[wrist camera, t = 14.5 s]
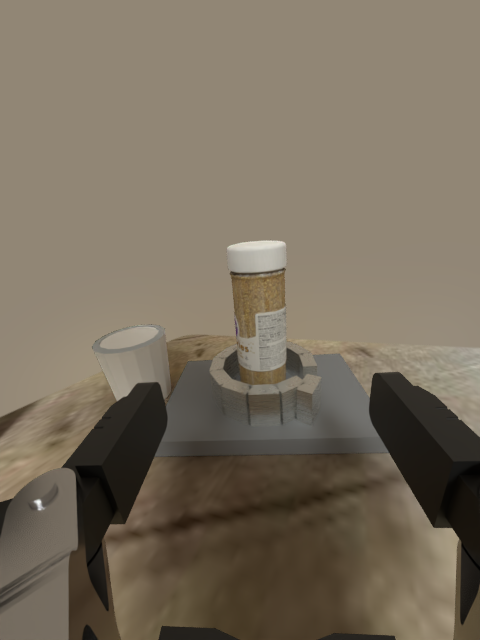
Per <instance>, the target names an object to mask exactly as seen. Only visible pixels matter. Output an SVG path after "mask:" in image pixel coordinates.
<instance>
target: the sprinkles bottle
mask: <svg viewBox="0 0 480 640" xmlns="http://www.w3.org/2000/svg"><path fill="white" fill-rule="evenodd" d="M227 263H228V270H230V271H231V272H230V275H231V278H232V286H233V299H234V309H235V312H234V317H235V327H236V339H237V353H238V361H239V366H240V379H241V382H243V383H246V384H250V385H263V384H277V383H279V382H281V381H284V380H286V304H285V279H284V278H285V277H284V273H285V270H286V269H285V268H284V267H286V265H287V256H286V244H285V243H284V242H282V241H253V242H244V243H238V244H234V245H230V246H228V248H227Z"/></svg>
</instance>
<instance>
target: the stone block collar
mask: <svg viewBox="0 0 480 640" xmlns="http://www.w3.org/2000/svg"><path fill="white" fill-rule="evenodd" d="M209 372H210V378H211V385H212V391H213V398H214V401H215V402H216V404H217V406H218V407H219V409H220V410H221V412H222V413H223V415H225V416H226V417H228V418H231V419H233V420H235V421H238V422H240V423H243V424H245V425H247V426H249V425H250V423H251V426H281V423H282V424H283V425H284V424H286V423H288V422H290V421H292V420H295V419H297V421H299V422H301V423H304V424H307V425H310V426H312V425H313V423H314V421H315V419H316V416H317V414H318V412H319V410H320V408H321V383H322V377H319V376H317V364H316V362H315V360H314V357H313V355H312V353H310V351H308V350H306V349H304V348H303V347H301V346H299V345H297V344H295V343H294V344H293V343H292V342H287V341H286V373H288V374H290V375H291V376H292V377H291V378H289V379H286V380H284V381H281V382H279V383H277V384H263V385H250V384H246V383H243V382H240V381H237V380H234V379H235V378H236V377H237V376H238V375H240V366H239V361H238V353H237V344H235V345H232V346H230V347H227V348H226V349H224V350H223V351H222V352H220V353H219V354H217V355H216V356H215V357H214V358H213V361H212V364H211V367H210V370H209Z"/></svg>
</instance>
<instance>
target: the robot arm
mask: <svg viewBox="0 0 480 640" xmlns="http://www.w3.org/2000/svg"><path fill="white" fill-rule="evenodd" d="M369 415H370V419H371V422H372V425H373V427H374V428H375V430H376V432H377V433H378V435H379V437H380V438H381V440H382V442H383V443H384V445H385V447H386V448H387V450H388V452H389V453H390V455H391V457H392V458H393V460H394V462H395V463H396V465H397V467H398V469H399V470H400V472H401V474H402V475H403V477H404V479H405V480H406V482H407V484H408V485H409V487H410V489H411V490H412V492H413V494H414V495H415V497H416V499H417V500H418V502H419V504H420V505H421V507H422V509H423V510H424V512H425V514H426V515H427V517H428V519H429V520H430V522H431V524H432V526H433V527H434V528H453V530H454V531H455V533H456V534H457V536H458V537H459V541H458V545H457V564H456V595H455V625H454V637H453V640H480V437H479V436H478V435H476V434H475V433H474V432H473V431H472V430H471V429H470V428H469V427H468V426H467V425H466V424H465V423H464V422H463V421H462V420H459V419H458V417H457V416H456V415H455V414H454V413H453V412H452V411H451V410H450V409H449V410H448V409H447V406H445V405H444V404H443V403H442V402H441V401H440V400H439V399H438V398H437V397H436V396H435V395H433V394H431V393H430V392H428V391H426V390H424V389H422V388H421V387H419V386H413V385H412V384H411V383H410V382H409V381H408V380H407V379H406V378H405V377H404V376H403V375H402V374H401V373H399V372H387V373H375V374H374V375H373V378H372V386H371V394H370V402H369ZM167 421H168V416H167V411H166V406H165V402H164V398H163V394H162V390H161V386H160V384H159V383H158V382H146V383H137V384H136V385H135V386H134V388H133V389H132V390H131V392H130V393H129V394H128V396H127V397H122V398H121V399H120V400H118V401H117V402H116V403H114V404H113V405H112V406H111V407H110V408H109V409H108V410H107V412H106V413H105V414H104V415H103V417H102V420H99V422H98V423H97V424H96V425H95V427H94V429H92V430H91V432H90V433H89V434H88V435H87V437H86V438H85V439H84V440H83V442H82V443H81V444H80V445H79V447H78V448H77V449H76V450H75V452H74V453H73V454H72V455H71V457H70V458H69V459H68V460H67V462H66V463H65V464H64V465H63V467H62V468H58V469H54V470H51V471H48V472H46V473H44V474H42V475H40V476H38V477H37V478H35V479H34V480H32V481H31V482H29V483H28V484H27V485H26V486H25V487H23V488H22V489H21V490H20V491H19V492H18V493H17V495H16V496H15V497H14V498H13V499H10V500H6V501H3V502H0V640H121V638H120V634H119V631H118V627H117V623H116V618H115V612H114V604H113V596H112V588H111V581H110V573H109V565H108V557H107V549H106V542H105V539H104V535H105V533H106V531H107V529H108V527H109V525H110V524H125V523H126V520H127V518H128V516H129V514H130V511H131V509H132V507H133V504H134V502H135V500H136V498H137V495H138V493H139V491H140V488H141V486H142V484H143V481H144V479H145V477H146V475H147V472H148V470H149V468H150V465H151V463H152V461H153V459H154V456H155V454H156V452H157V449H158V447H159V445H160V442H161V440H162V438H163V436H164V433H165V431H166V428H167ZM159 640H239V639H237V638H235V637H233V636H230V635H228V634H226V633H224V632H222V631H220V630H218V629H216V628H194V627H170V626H162V627H161V631H160V636H159ZM318 640H396V639H395V636H387V635H363V634H339V633H333V634H331V635H328V636H326V637H323V638H321V639H318Z"/></svg>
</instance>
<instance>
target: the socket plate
mask: <svg viewBox="0 0 480 640" xmlns="http://www.w3.org/2000/svg"><path fill="white" fill-rule="evenodd" d="M313 357H314V360H315V362H316V364H317V376H319V377H322V383H321V408H320V410H319V412H318V414H317V416H316V419H315V421H314V423H313V425H312V426H310V425H307V424H304V423H301V422H299V421H297V419H295V420H292V421H290V422H288V423H286V424H284V425H283V424H282V423H281V426H251V423H250V425H249V426H247V425H245V424H243V423H240V422H238V421H235V420H233V419H231V418H228V417H226V416H225V415H223V413H222V412H221V410H220V409H219V407H218V406H217V404H216V402H215V401H214V398H213V391H212V385H211V378H210V372H209V370H210V367H211V364H212V361H213V360H204V361H188V362H187V364H186V366H185V368H184V370H183V372H182V374H181V376H180V379H179V381H178V383H177V385H176V387H175V389H174V391H173V393H172V395H171V397H170V399H169V401H168V403H167V405H166V411H167V416H168V421H167V428H166V431H165V433H164V436H163V438H162V440H161V442H160V445H159V447H158V449H157V452H156V454H155V456H154V457H159V456H220V455H281V454H342V453H389V452H388V450H387V448H386V447H385V445H384V443H383V442H382V440H381V438H380V437H379V435H378V433H377V432H376V430H375V428H374V427H373V425H372V422H371V419H370V415H369V402H370V398H369V396H368V395H367V393H366V392H365V390H364V389H363V388H362V386H361V385H360V383H359V382H358V380H357V379H356V377H355V376H354V374H353V373H352V371H351V370H350V368H349V367H348V365H347V364H346V362H345V361H344V359H343V358H342V356H341V355H340V354H324V355H313ZM291 377H292V376H291V375H290V374H288V373H286V379H289V378H291ZM234 380H237V381H240V382H241V379H240V375H238V376H237V377H236V378H235V379H234Z"/></svg>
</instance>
